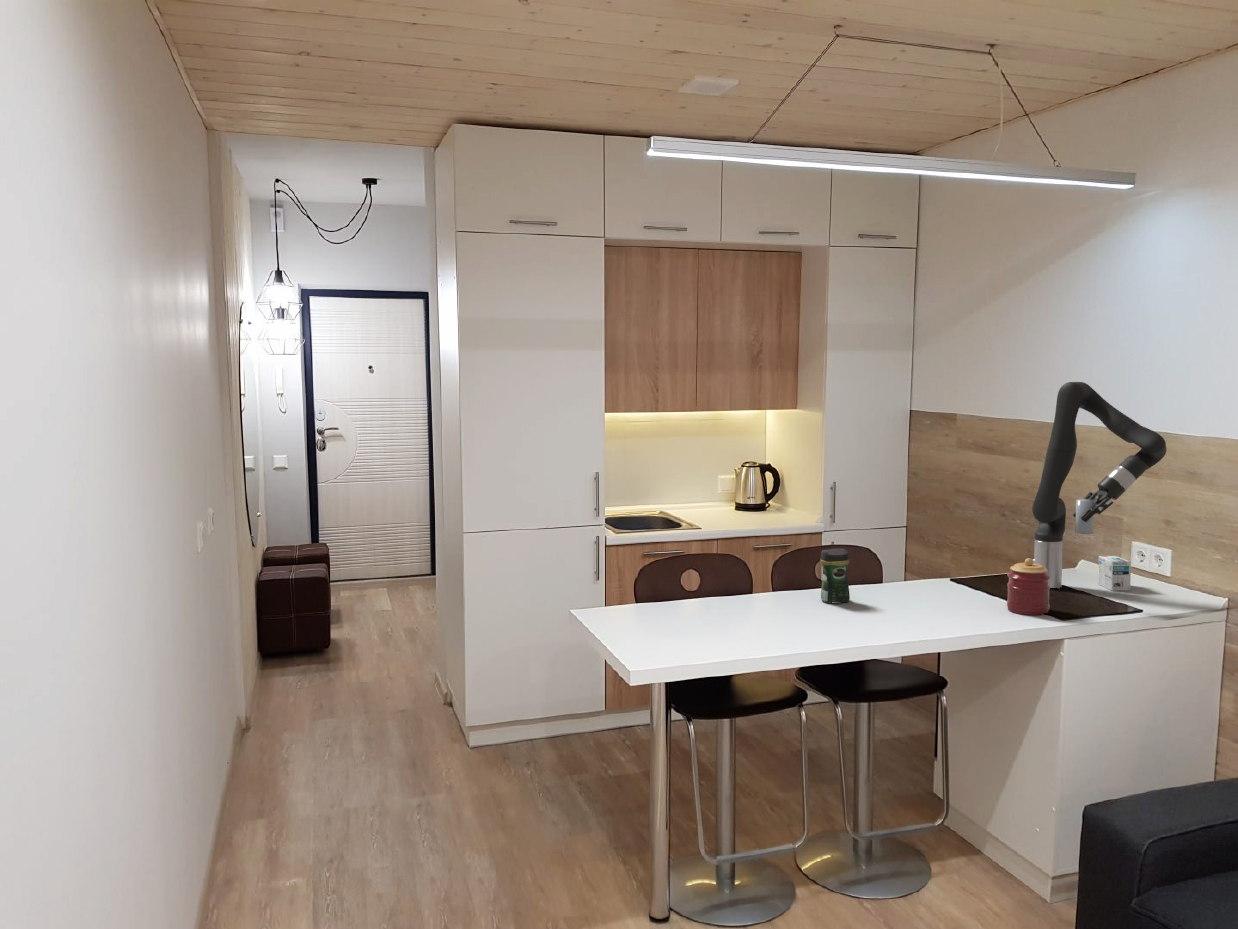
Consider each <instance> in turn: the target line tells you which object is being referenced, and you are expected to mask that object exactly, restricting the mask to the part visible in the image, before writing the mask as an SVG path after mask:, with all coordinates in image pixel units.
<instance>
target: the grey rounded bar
mask: <svg viewBox="0 0 1238 929" xmlns="http://www.w3.org/2000/svg"><path fill="white" fill-rule="evenodd" d="M1093 501H1094V500H1091V499H1084V498H1077V499H1076V500H1075V512H1076V518H1075V520H1074V521H1075V525H1074V532H1075V533H1076V534H1080V535H1092V534H1094V517H1095V515H1093V516H1092V517H1091V518H1090V519H1089V520H1088V521H1087V522H1084V521H1083V520H1082V519H1081V516H1082V515H1084V514H1085V513H1086V512H1087V511H1088V510H1089V509H1090V508H1091V506H1092V503H1093ZM1089 511H1090V510H1089Z"/></svg>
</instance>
